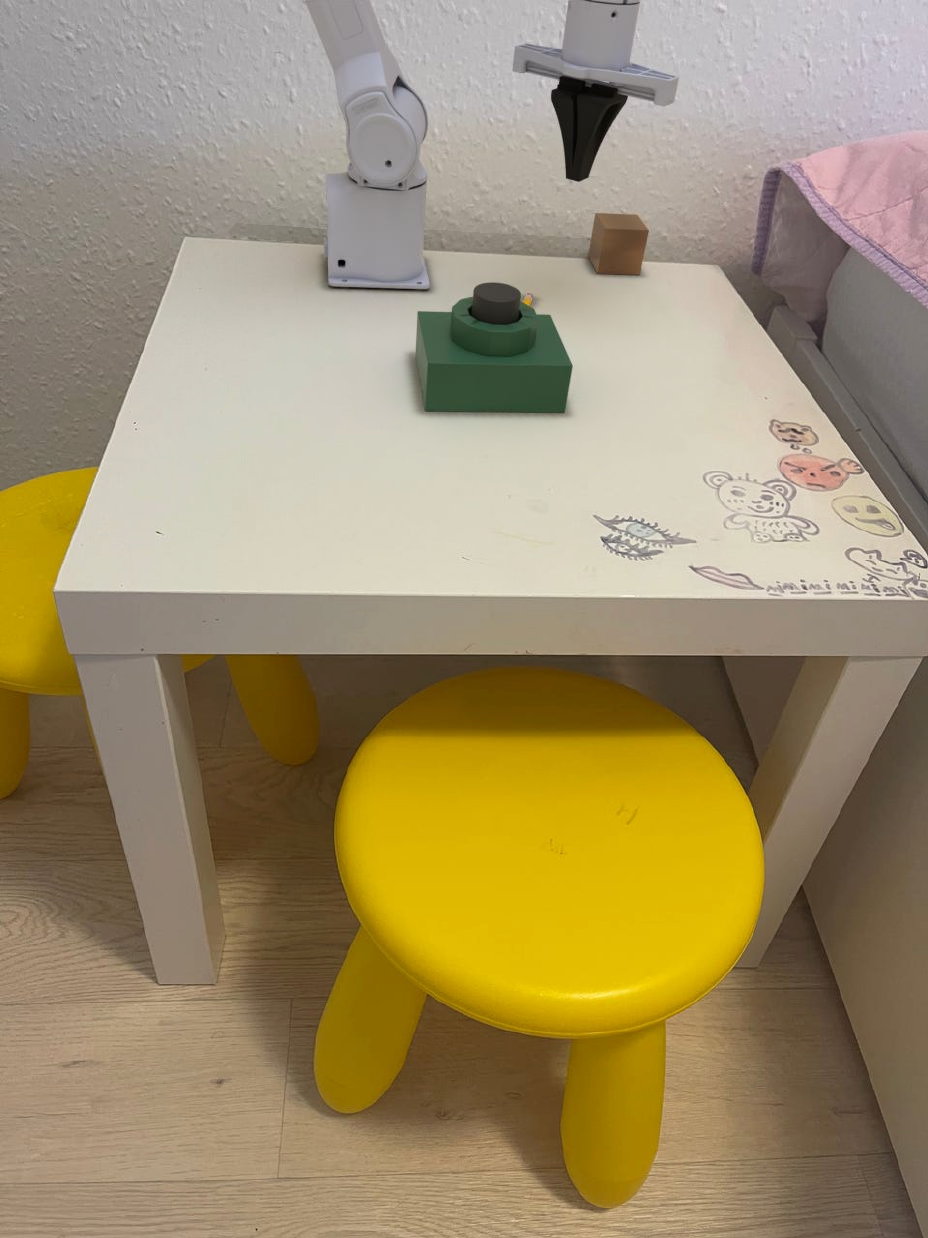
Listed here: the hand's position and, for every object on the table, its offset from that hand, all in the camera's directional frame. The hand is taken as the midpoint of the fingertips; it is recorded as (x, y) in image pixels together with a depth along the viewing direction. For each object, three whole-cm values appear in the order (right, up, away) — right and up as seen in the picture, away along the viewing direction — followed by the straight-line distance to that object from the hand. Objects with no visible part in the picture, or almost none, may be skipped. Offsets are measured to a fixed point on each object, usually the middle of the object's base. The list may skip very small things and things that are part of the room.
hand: (577, 177), depth 83 cm
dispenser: (-8, -21, -8) cm, 24 cm away
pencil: (-5, -12, +2) cm, 13 cm away
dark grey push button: (-8, -17, -12) cm, 22 cm away
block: (+5, -3, +13) cm, 14 cm away
